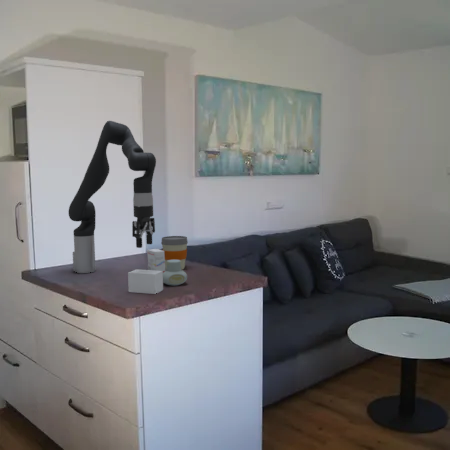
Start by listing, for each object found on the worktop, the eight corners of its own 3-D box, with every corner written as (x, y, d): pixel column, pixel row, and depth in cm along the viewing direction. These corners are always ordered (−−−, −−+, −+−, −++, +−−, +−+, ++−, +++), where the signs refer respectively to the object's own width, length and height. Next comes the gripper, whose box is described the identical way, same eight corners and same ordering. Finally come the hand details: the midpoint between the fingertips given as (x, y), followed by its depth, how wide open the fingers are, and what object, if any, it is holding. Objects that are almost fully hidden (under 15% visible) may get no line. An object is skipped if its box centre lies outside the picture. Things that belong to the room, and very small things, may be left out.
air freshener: (184, 281, 218) (183, 258, 216) (189, 285, 210) (189, 261, 209) (159, 283, 214) (158, 259, 213) (163, 287, 206) (163, 263, 205)
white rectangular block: (128, 291, 199) (127, 272, 198) (136, 288, 206) (136, 269, 205) (155, 294, 196) (155, 274, 195) (163, 290, 202) (162, 270, 201)
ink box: (166, 277, 225) (165, 250, 224) (155, 278, 223) (155, 252, 221) (157, 273, 233) (156, 248, 231) (147, 275, 230) (146, 249, 228)
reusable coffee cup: (164, 266, 251) (163, 235, 249) (189, 265, 250) (188, 235, 248) (160, 271, 238) (159, 239, 236) (186, 271, 238) (186, 239, 236)
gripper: (143, 203, 204) (144, 242, 206) (125, 205, 191) (126, 248, 193) (160, 203, 202) (161, 243, 204) (143, 206, 189) (144, 249, 191)
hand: (144, 245), depth 198 cm, fingers open, 8 cm apart
